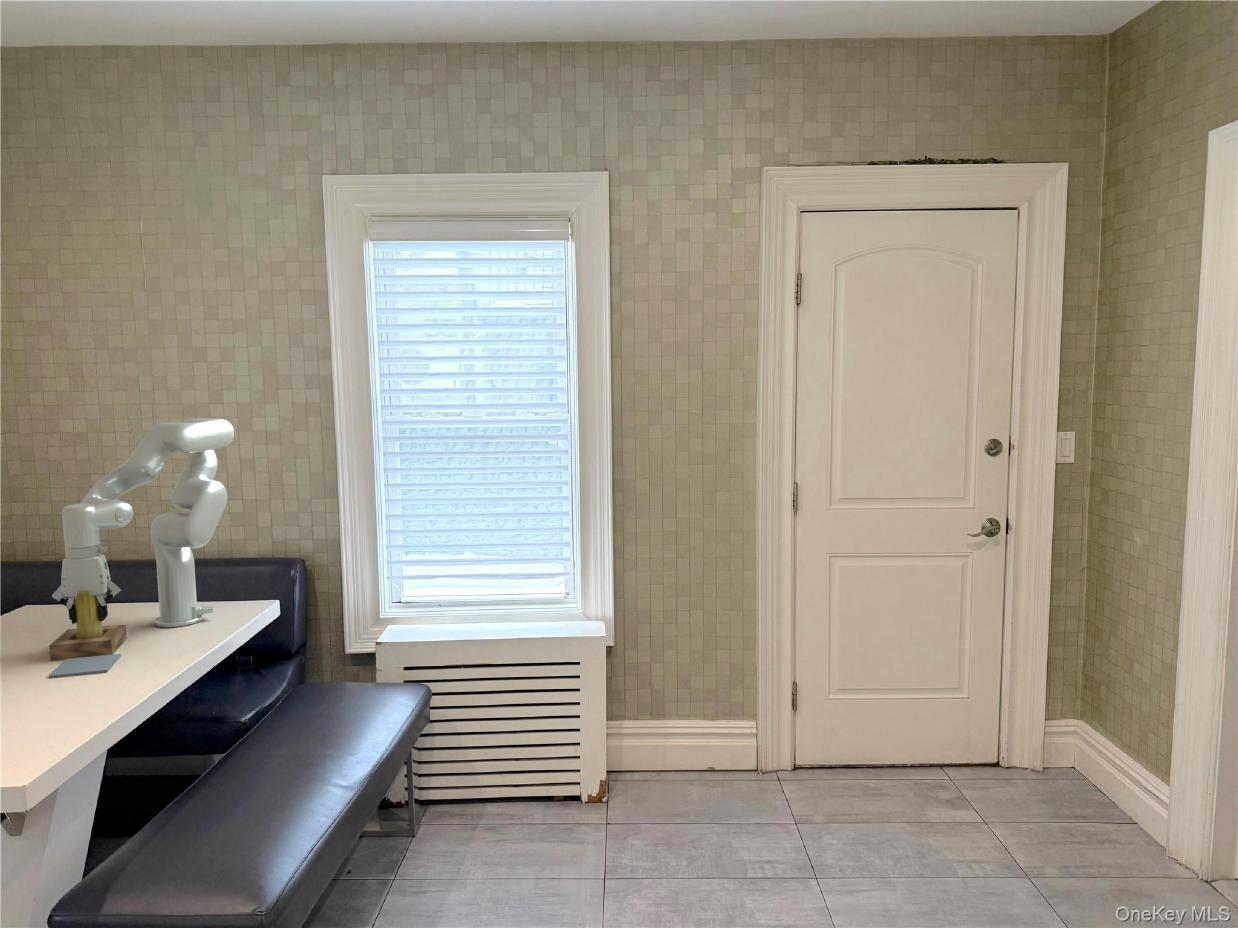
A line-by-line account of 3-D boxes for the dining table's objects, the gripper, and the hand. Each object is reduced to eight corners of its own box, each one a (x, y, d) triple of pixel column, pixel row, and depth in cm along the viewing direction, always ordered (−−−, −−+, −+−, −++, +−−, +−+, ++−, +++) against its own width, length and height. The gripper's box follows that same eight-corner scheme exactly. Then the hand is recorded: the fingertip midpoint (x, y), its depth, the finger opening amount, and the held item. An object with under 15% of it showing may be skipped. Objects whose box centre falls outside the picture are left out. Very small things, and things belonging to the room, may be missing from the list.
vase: (75, 648, 207) (70, 593, 206) (78, 641, 213) (73, 587, 211) (103, 644, 210) (99, 590, 208) (105, 637, 216) (101, 584, 214)
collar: (126, 638, 220) (125, 624, 219) (112, 655, 207) (111, 639, 206) (68, 644, 216) (67, 629, 215) (50, 660, 203) (49, 645, 202)
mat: (121, 655, 206) (120, 653, 206) (107, 672, 195) (107, 669, 195) (66, 661, 203) (66, 658, 203) (48, 677, 191) (48, 675, 191)
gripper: (125, 546, 215) (130, 613, 217) (49, 551, 210) (55, 620, 212) (117, 552, 208) (123, 621, 210) (38, 558, 202) (45, 628, 205)
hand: (89, 620), depth 211 cm, fingers closed on vase, 5 cm apart
